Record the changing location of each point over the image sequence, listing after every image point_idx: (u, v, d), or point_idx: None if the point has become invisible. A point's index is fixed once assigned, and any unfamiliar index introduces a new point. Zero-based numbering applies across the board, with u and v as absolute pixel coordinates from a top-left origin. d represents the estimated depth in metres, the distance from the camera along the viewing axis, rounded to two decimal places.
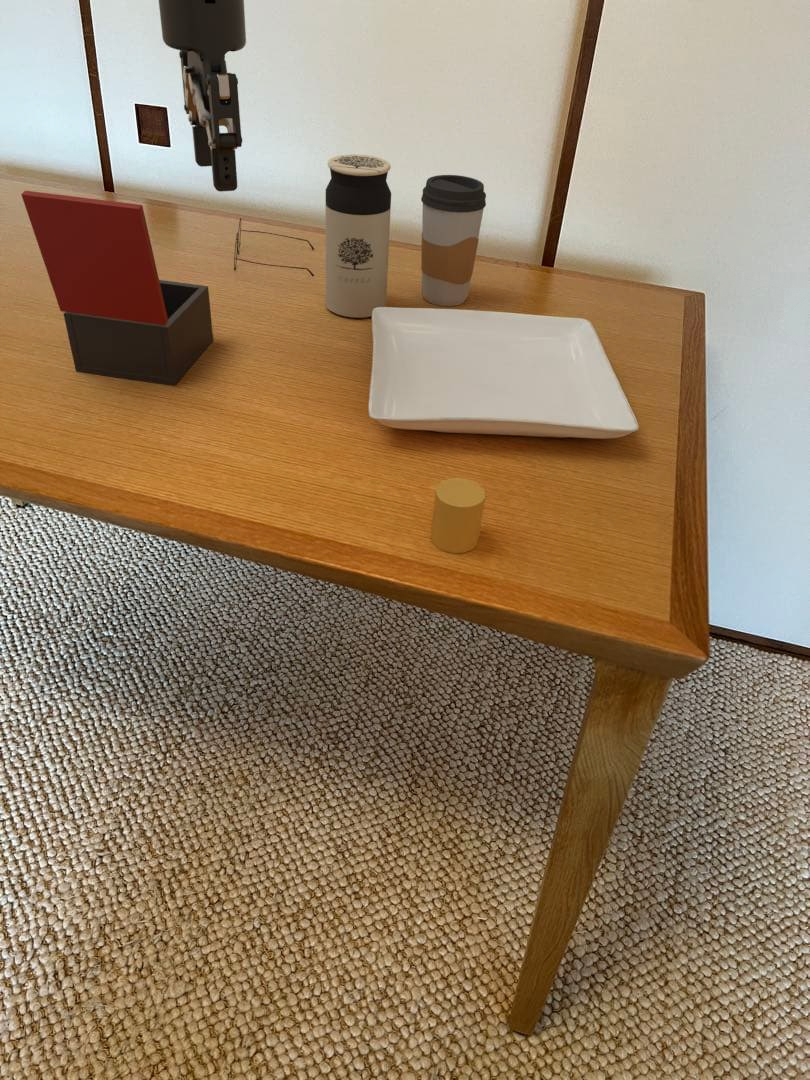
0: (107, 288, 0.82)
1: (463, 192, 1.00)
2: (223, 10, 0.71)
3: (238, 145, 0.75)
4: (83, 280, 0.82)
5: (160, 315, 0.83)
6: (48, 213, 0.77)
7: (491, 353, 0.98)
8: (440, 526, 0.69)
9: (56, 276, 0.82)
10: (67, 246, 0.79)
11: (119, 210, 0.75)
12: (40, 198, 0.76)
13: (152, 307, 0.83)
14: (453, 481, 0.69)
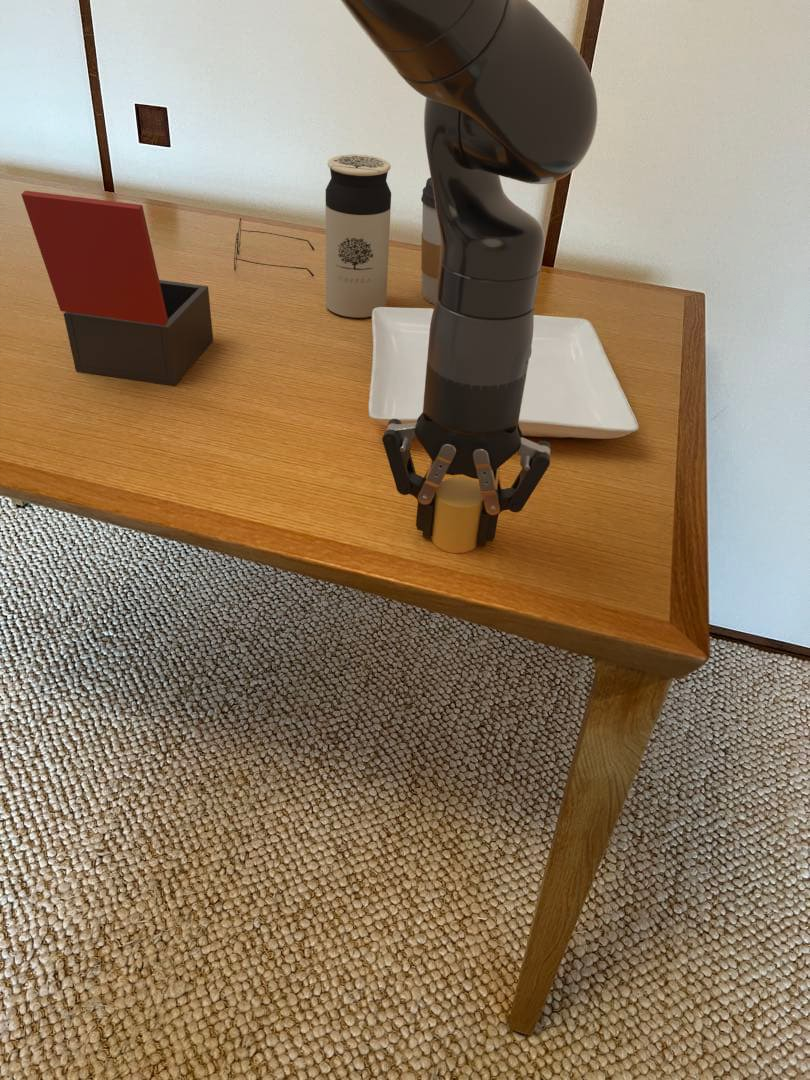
0: (107, 288, 0.82)
1: None
2: None
3: None
4: (83, 280, 0.82)
5: (160, 315, 0.83)
6: (48, 213, 0.77)
7: None
8: (440, 526, 0.69)
9: (56, 276, 0.82)
10: (67, 246, 0.79)
11: (119, 210, 0.75)
12: (40, 198, 0.76)
13: (152, 307, 0.83)
14: (453, 481, 0.69)
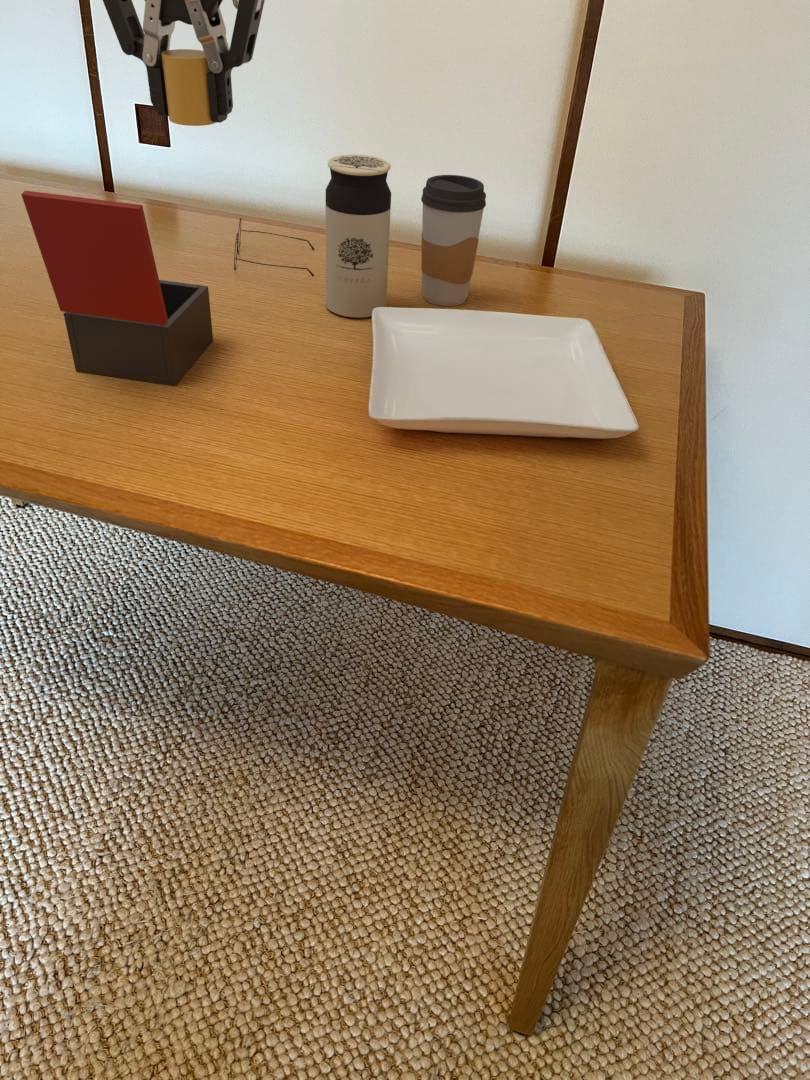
0: (107, 288, 0.82)
1: (463, 192, 1.00)
2: None
3: (248, 61, 0.68)
4: (83, 280, 0.82)
5: (160, 315, 0.83)
6: (48, 213, 0.77)
7: (491, 353, 0.98)
8: (168, 91, 0.68)
9: (56, 276, 0.82)
10: (67, 246, 0.79)
11: (119, 210, 0.75)
12: (40, 198, 0.76)
13: (152, 307, 0.83)
14: (185, 50, 0.68)
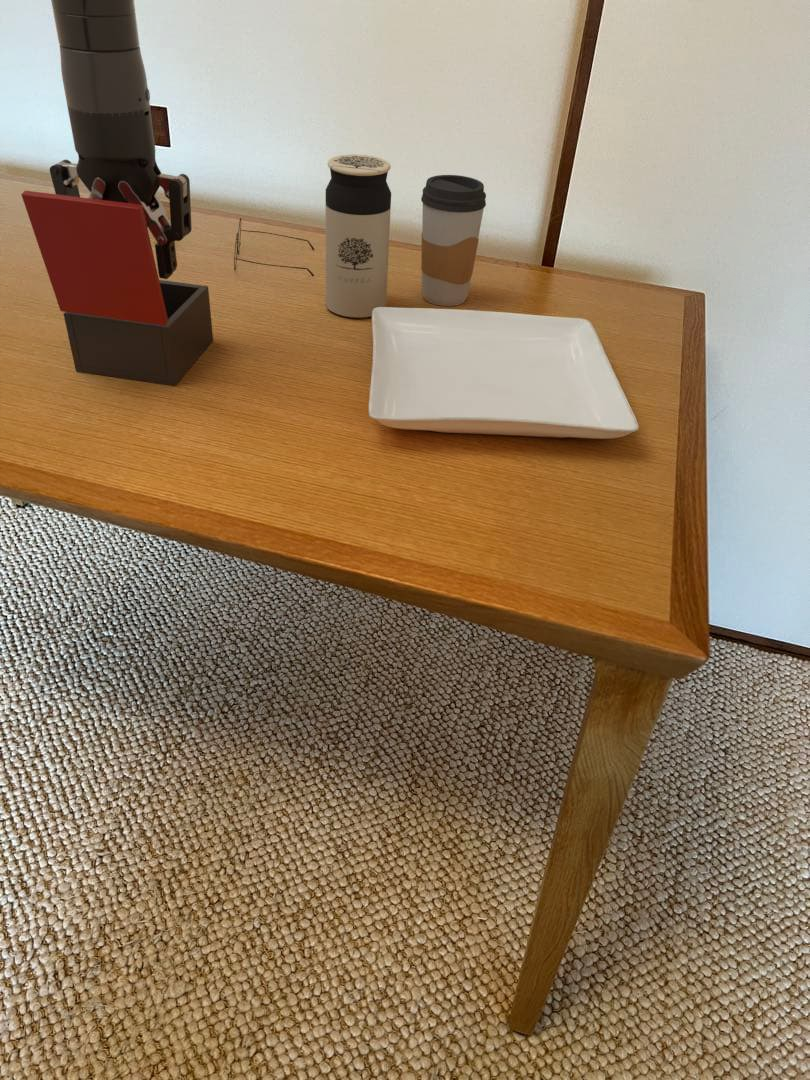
0: (107, 288, 0.82)
1: (463, 192, 1.00)
2: (150, 118, 0.79)
3: None
4: (83, 280, 0.82)
5: (160, 315, 0.83)
6: (48, 213, 0.77)
7: (491, 353, 0.98)
8: None
9: (56, 276, 0.82)
10: (67, 246, 0.79)
11: (119, 210, 0.75)
12: (40, 198, 0.76)
13: (152, 307, 0.83)
14: None
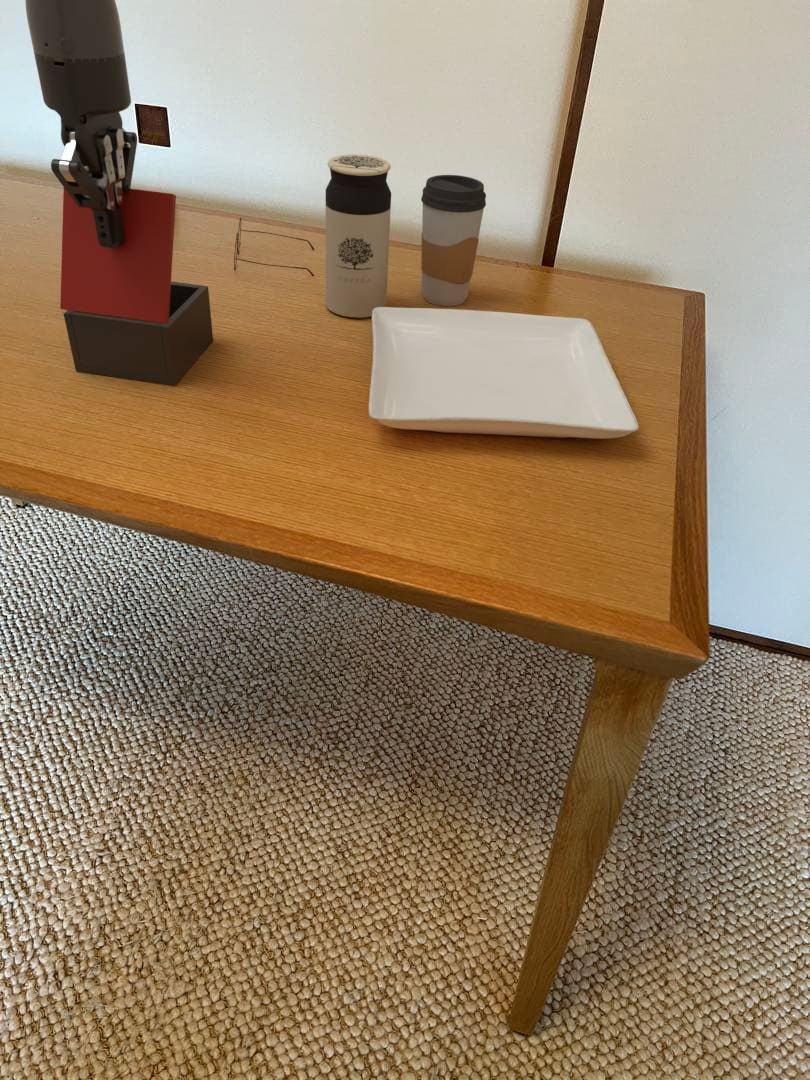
0: (117, 280, 0.84)
1: (463, 192, 1.00)
2: (74, 73, 0.69)
3: (100, 209, 0.77)
4: (95, 272, 0.84)
5: (163, 311, 0.84)
6: None
7: (491, 353, 0.98)
8: None
9: (69, 268, 0.84)
10: (91, 234, 0.83)
11: (153, 195, 0.81)
12: None
13: (157, 302, 0.83)
14: None
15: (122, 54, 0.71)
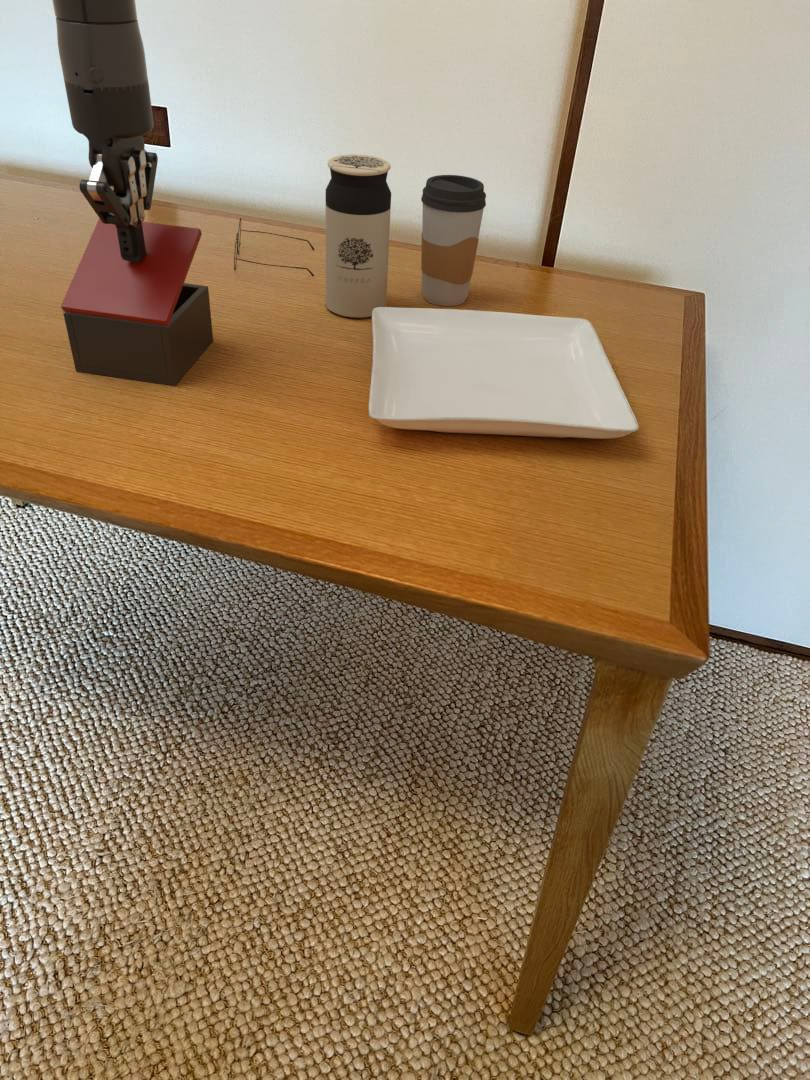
0: (127, 287, 0.86)
1: (463, 192, 1.00)
2: (102, 100, 0.74)
3: (124, 225, 0.82)
4: (107, 280, 0.86)
5: (166, 311, 0.84)
6: (115, 229, 0.89)
7: (491, 353, 0.98)
8: None
9: (81, 276, 0.87)
10: (112, 253, 0.88)
11: (181, 228, 0.89)
12: None
13: (163, 304, 0.85)
14: None
15: (146, 82, 0.76)
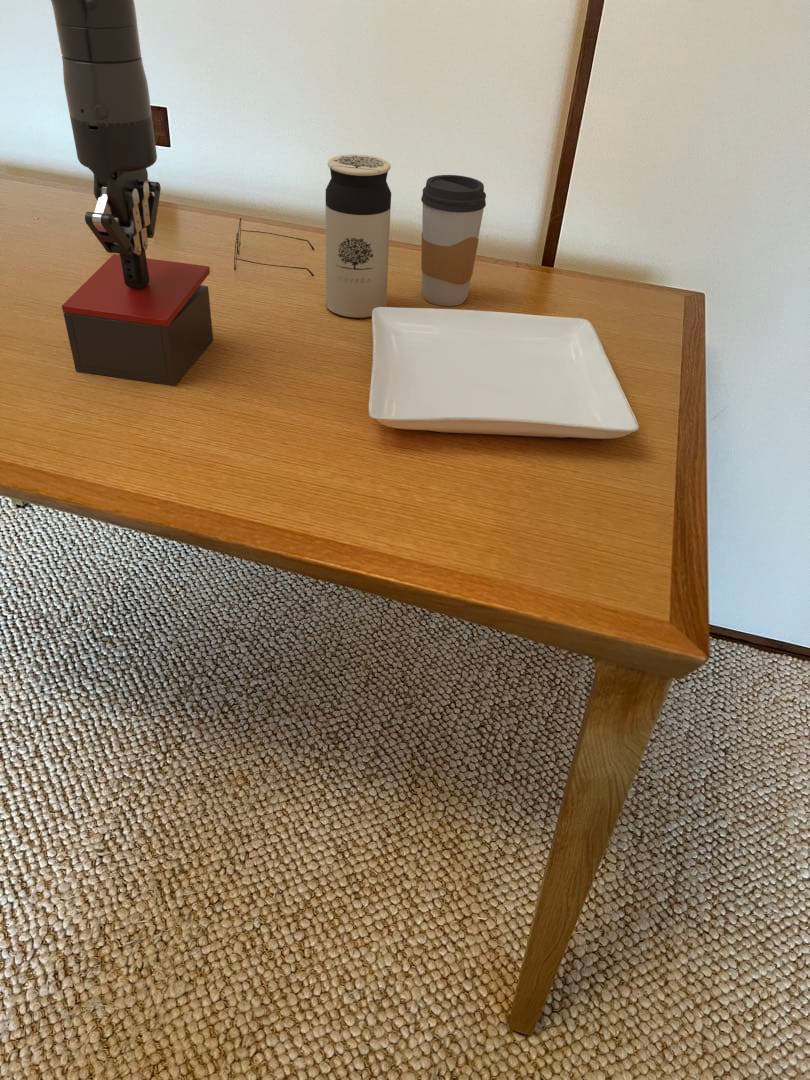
0: (131, 297, 0.87)
1: (463, 192, 1.00)
2: (107, 136, 0.76)
3: (128, 254, 0.84)
4: (112, 291, 0.88)
5: (168, 314, 0.85)
6: None
7: (491, 353, 0.98)
8: None
9: (87, 288, 0.88)
10: (121, 276, 0.90)
11: (191, 265, 0.93)
12: None
13: (165, 309, 0.85)
14: None
15: (150, 116, 0.78)
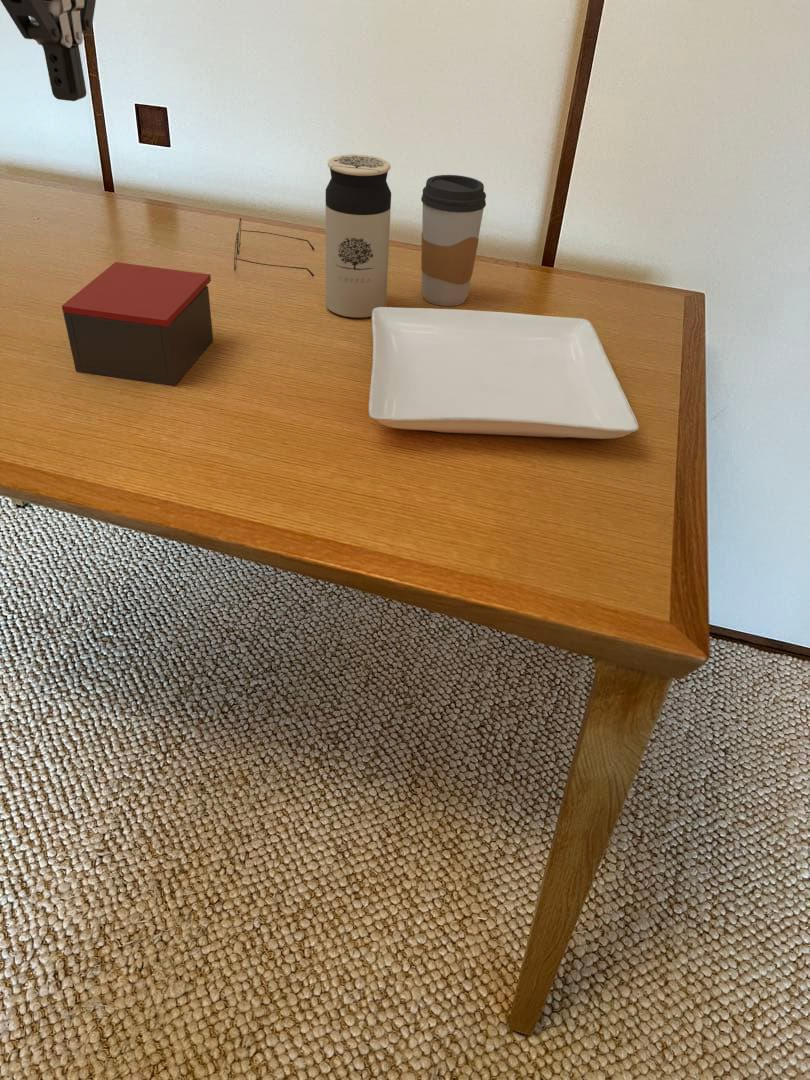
0: (131, 299, 0.87)
1: (463, 192, 1.00)
2: None
3: (52, 41, 0.61)
4: (113, 294, 0.88)
5: (168, 314, 0.85)
6: (128, 269, 0.93)
7: (491, 353, 0.98)
8: None
9: (88, 291, 0.88)
10: (122, 281, 0.91)
11: (192, 273, 0.93)
12: (130, 264, 0.94)
13: (165, 310, 0.86)
14: None
15: None
